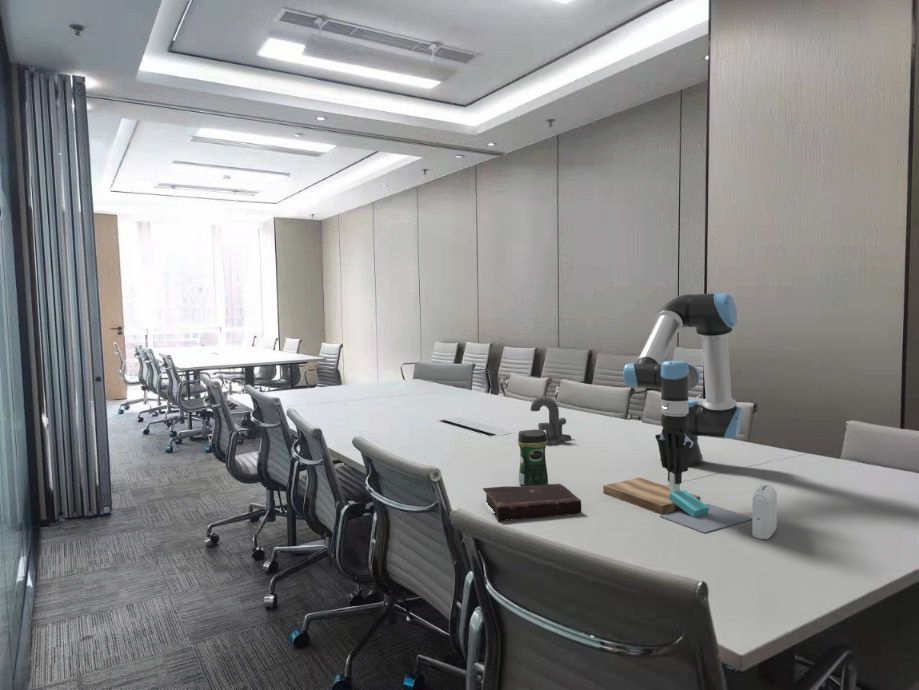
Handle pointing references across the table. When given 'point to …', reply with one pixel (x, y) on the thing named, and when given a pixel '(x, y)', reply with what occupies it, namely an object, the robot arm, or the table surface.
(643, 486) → the wooden board
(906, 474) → the table surface
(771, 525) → the photo printer
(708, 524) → the mat
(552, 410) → the faucet
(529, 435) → the coffee jar
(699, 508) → the turquoise flat block
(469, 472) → the table surface
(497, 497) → the diary
